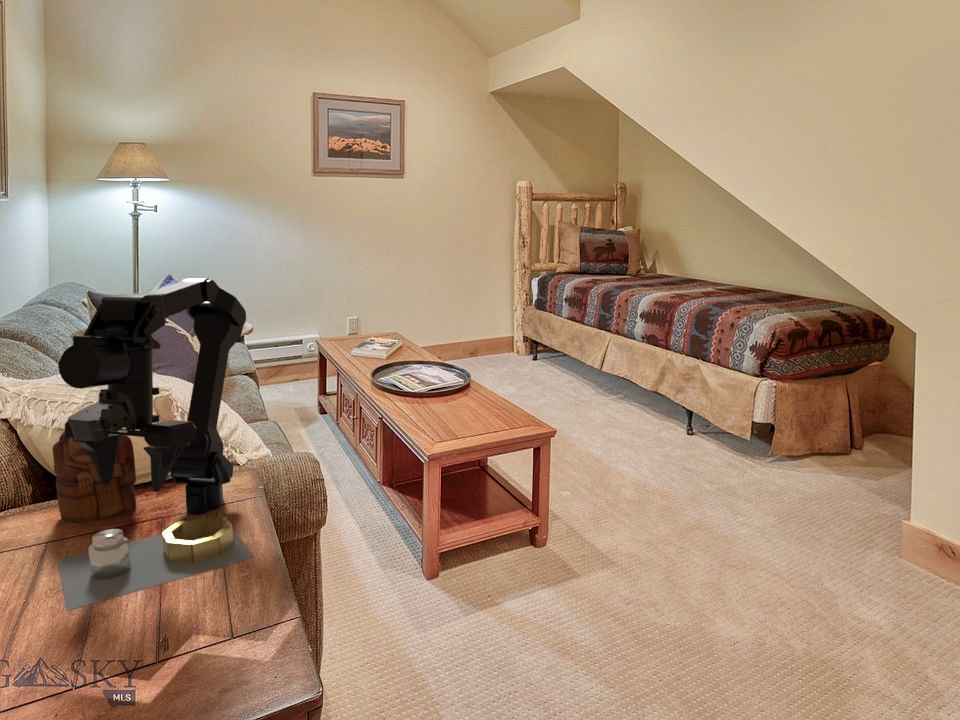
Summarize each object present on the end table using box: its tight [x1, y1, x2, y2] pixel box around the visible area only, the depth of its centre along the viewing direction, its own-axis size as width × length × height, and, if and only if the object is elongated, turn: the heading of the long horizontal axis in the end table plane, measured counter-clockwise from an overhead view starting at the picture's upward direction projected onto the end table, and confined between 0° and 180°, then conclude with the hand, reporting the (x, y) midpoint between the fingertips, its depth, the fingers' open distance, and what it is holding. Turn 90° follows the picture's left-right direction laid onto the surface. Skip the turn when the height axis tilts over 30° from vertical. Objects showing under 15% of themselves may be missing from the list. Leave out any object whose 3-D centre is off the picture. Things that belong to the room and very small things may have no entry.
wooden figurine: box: [52, 430, 137, 524], centre depth 109 cm, size 12×6×18 cm, turn 122°
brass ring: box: [161, 515, 234, 563], centre depth 99 cm, size 9×9×3 cm
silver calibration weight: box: [88, 528, 131, 580], centre depth 91 cm, size 5×5×6 cm
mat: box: [56, 529, 256, 612], centre depth 96 cm, size 24×16×2 cm, turn 127°
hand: (131, 487), depth 93 cm, fingers open, 9 cm apart
